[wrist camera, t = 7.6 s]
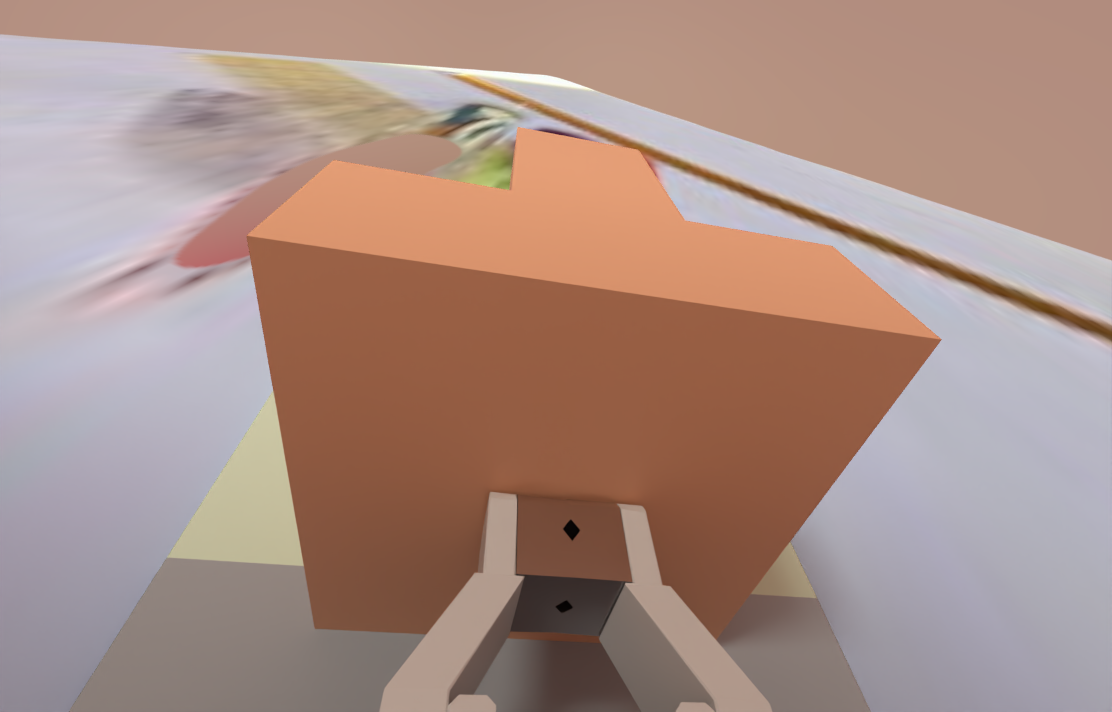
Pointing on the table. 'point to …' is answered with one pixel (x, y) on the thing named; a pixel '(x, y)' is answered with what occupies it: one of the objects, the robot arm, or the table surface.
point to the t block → (556, 374)
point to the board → (375, 657)
